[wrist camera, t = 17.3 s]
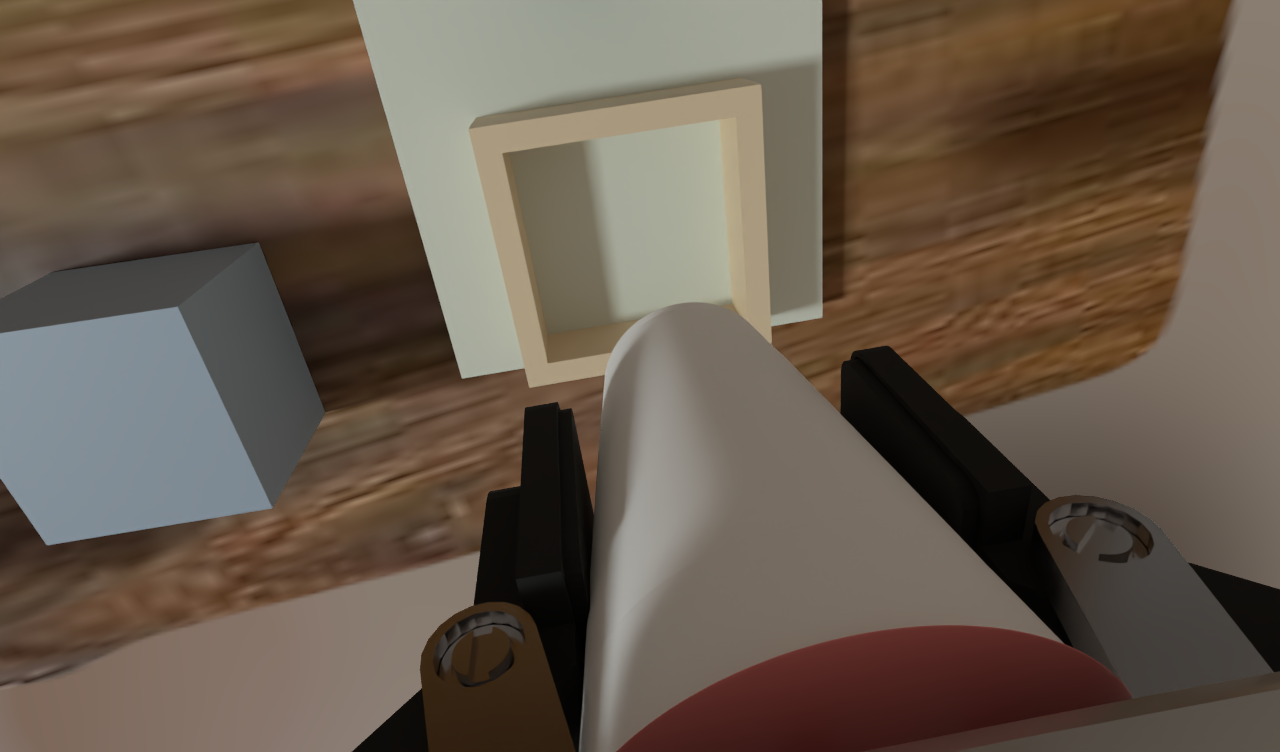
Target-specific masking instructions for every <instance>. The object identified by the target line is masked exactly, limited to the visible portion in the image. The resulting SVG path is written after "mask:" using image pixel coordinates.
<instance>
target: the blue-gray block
mask: <svg viewBox="0 0 1280 752" xmlns="http://www.w3.org/2000/svg"><path fill="white" fill-rule="evenodd" d="M324 414H325V410H324V408H323V405H322V403H321V400H320V398H319V395H318V392H317V390H316V387H315V385H314V382H313V380H312V377H311V375H310V372H309V369H308V367H307V364H306V362H305V359H304V357H303V354H302V352H301V349H300V346H299V344H298V341H297V339H296V336H295V334H294V331H293V329H292V326H291V324H290V321H289V318H288V316H287V313H286V311H285V308H284V306H283V303H282V301H281V298H280V295H279V293H278V290H277V288H276V285H275V283H274V280H273V278H272V275H271V272H270V270H269V267H268V265H267V262H266V260H265V257H264V255H263V252H262V249H261V247H260V244H259V242H258V243H251V244H244V245H237V246H230V247H223V248H216V249H209V250H203V251H196V252H189V253H182V254H175V255H168V256H161V257H154V258H147V259H141V260H134V261H127V262H120V263H113V264H106V265H99V266H92V267H85V268H79V269H72V270H65V271H58V272H51V273H49V274H48V275H46V276H44V277H42V278H40V279H38V280H36V281H34V282H32V283H30V284H28V285H26V286H25V287H23V288H21V289H19V290H17V291H15V292H13V293H11V294H9V295H7V296H5V297H4V298H2V299H0V479H1V480H2V481H3V483H4V484H5V486H6V487H7V489H8V490H9V492H10V493H11V494H12V496H13V497H14V499H15V500H16V502H17V503H18V504H19V506H20V507H21V509H22V510H23V512H24V513H25V515H26V516H27V517H28V519H29V520H30V522H31V523H32V525H33V526H34V528H35V529H36V530H37V532H38V533H39V535H40V536H41V538H42V539H43V541H44V542H45V543H46V545H53V544H59V543H65V542H71V541H77V540H83V539H89V538H95V537H101V536H107V535H113V534H119V533H125V532H131V531H137V530H144V529H150V528H156V527H162V526H168V525H174V524H180V523H186V522H192V521H198V520H204V519H210V518H216V517H222V516H228V515H234V514H240V513H246V512H252V511H259V510H265V509H271V508H273V506H274V505H275V503H276V501H277V499H278V497H279V496H280V494H281V492H282V490H283V488H284V487H285V485H286V483H287V481H288V479H289V478H290V476H291V474H292V472H293V470H294V468H295V467H296V465H297V463H298V461H299V459H300V458H301V456H302V454H303V452H304V450H305V449H306V447H307V445H308V443H309V441H310V440H311V438H312V436H313V434H314V432H315V431H316V429H317V427H318V425H319V423H320V422H321V420H322V418H323V416H324Z"/></svg>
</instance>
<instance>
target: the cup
mask: <svg viewBox="0 0 1280 752" xmlns="http://www.w3.org/2000/svg"><path fill="white" fill-rule="evenodd" d="M1131 697H1133V696H1132V694H1131V693H1130V691H1129V690H1128V689H1127V687H1126V686H1125V685H1124V684H1123V683H1122V681H1121V680H1120V679H1119V678H1118V677H1117V676H1116V675H1115V674H1114V673H1112V672H1111V671H1110V670H1109V669H1108V668H1106V667H1105V666H1104V665H1102V664H1101V663H1100V662H1098V661H1097V660H1095V659H1093V658H1092V657H1090V656H1088V655H1087V654H1085V653H1083V652H1081V651H1079V650H1077V649H1075V648H1072V647H1070V646H1068V645H1065V644H1064V643H1063V642H1062V641H1061V640H1060V639H1059V638H1058V637H1057V636H1056V635H1055V634H1054V633H1053V632H1052V631H1051V630H1050V629H1049V628H1048V627H1047V626H1046V625H1045V624H1044V623H1043V621H1042V620H1041V619H1040V618H1039V617H1038V616H1037V615H1036V614H1035V613H1034V612H1033V611H1032V610H1031V609H1030V608H1029V607H1028V606H1027V605H1026V604H1025V603H1024V602H1023V601H1022V600H1021V599H1020V598H1019V597H1018V596H1017V595H1016V594H1015V593H1014V592H1013V591H1012V590H1011V589H1010V588H1009V587H1008V586H1007V585H1006V584H1005V583H1004V582H1003V581H1002V580H1001V579H1000V578H999V577H998V576H997V575H996V573H995V572H994V571H993V570H992V569H990V568H989V567H988V566H987V565H986V564H985V562H984V561H983V560H982V559H981V558H980V557H979V556H978V555H977V554H976V553H975V552H974V551H973V550H972V549H971V548H970V547H969V546H968V544H967V543H966V542H965V541H964V540H963V539H962V538H961V537H960V536H959V535H958V534H957V533H956V532H955V531H954V530H953V529H952V528H951V527H950V526H949V525H948V524H947V523H946V522H945V521H944V520H943V519H942V518H941V516H940V515H939V514H938V513H937V512H936V511H935V510H934V509H933V508H932V507H931V506H930V505H929V504H928V503H927V502H926V501H925V500H924V499H923V498H922V497H921V496H920V495H919V494H918V493H917V492H916V491H915V490H914V489H913V488H912V487H911V486H910V485H909V484H908V483H907V482H906V481H905V479H904V478H903V477H902V476H901V475H900V474H899V473H898V472H897V471H896V470H895V469H894V468H893V467H892V466H891V465H890V464H889V463H888V462H887V461H886V460H885V459H884V458H883V457H882V456H881V455H880V454H879V453H878V452H877V451H876V450H875V449H874V448H873V447H872V446H871V445H870V444H869V443H868V442H867V441H866V440H865V439H864V438H863V436H862V435H861V434H860V433H859V432H858V431H857V430H856V429H855V428H854V427H853V426H852V425H851V424H850V423H849V422H848V421H847V420H846V419H845V418H844V417H843V416H842V415H841V414H840V413H839V412H838V411H837V410H836V409H835V408H834V407H833V406H832V405H831V404H830V403H829V402H828V401H827V400H826V399H825V398H824V397H823V396H822V395H821V394H820V393H819V392H818V391H817V390H816V388H815V387H814V386H813V385H812V384H811V383H810V382H809V381H808V380H807V379H806V378H805V377H804V376H803V375H802V374H801V373H800V372H799V371H798V370H797V369H796V368H795V367H794V366H793V365H792V364H791V363H790V362H789V361H788V360H787V359H786V358H785V357H784V356H783V355H782V354H781V353H780V352H779V351H778V350H776V349H775V348H774V347H773V346H772V345H771V344H770V343H769V342H768V341H767V340H766V339H765V338H764V337H763V336H762V335H761V334H760V333H759V332H758V331H757V330H756V329H755V328H754V327H753V326H752V325H751V324H750V323H749V322H748V321H747V320H746V319H744V318H743V317H742V316H740V315H739V314H737V313H735V312H733V311H731V310H729V309H727V308H724V307H722V306H718V305H714V304H709V303H701V302H688V303H680V304H674V305H670V306H667V307H664V308H661V309H658V310H656V311H654V312H652V313H650V314H648V315H646V316H645V317H643V318H642V319H640V320H639V321H637V322H636V323H635V324H634V325H632V326H631V327H630V328H629V329H628V330H627V331H626V332H625V333H624V335H623V336H622V337H621V338H620V340H619V341H618V342H617V344H616V345H615V347H614V349H613V351H612V353H611V355H610V358H609V360H608V363H607V367H606V372H605V383H604V393H603V408H602V415H601V424H600V438H599V452H598V467H597V481H596V496H595V510H594V525H593V540H592V554H591V569H590V611H589V615H588V621H587V630H586V646H585V663H584V680H583V701H582V712H581V726H580V740H579V752H864V751H869V750H874V749H879V748H884V747H889V746H894V745H899V744H904V743H909V742H914V741H919V740H924V739H929V738H934V737H939V736H944V735H949V734H954V733H959V732H964V731H969V730H974V729H979V728H984V727H989V726H995V725H1000V724H1005V723H1010V722H1015V721H1020V720H1025V719H1030V718H1035V717H1040V716H1046V715H1051V714H1056V713H1061V712H1066V711H1071V710H1077V709H1082V708H1087V707H1092V706H1097V705H1103V704H1108V703H1113V702H1118V701H1123V700H1129V699H1131Z"/></svg>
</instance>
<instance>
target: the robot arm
mask: <svg viewBox="0 0 1280 752" xmlns="http://www.w3.org/2000/svg"><path fill="white" fill-rule="evenodd" d="M841 415H842V416H843V417H844V418H845V419H846V420H847V421H848V422H849V423H850V424H851V425H852V426H853V427H854V428H855V429H856V430H857V431H858V432H859V433H860V434H861V435H862V436H863V438H864V439H865V440H866V441H867V442H868V443H869V444H870V445H871V446H872V447H873V448H874V449H875V450H876V451H877V452H878V453H879V454H880V455H881V456H882V457H883V458H884V459H885V460H886V461H887V462H888V463H889V464H890V465H891V466H892V467H893V468H894V469H895V470H896V471H897V472H898V473H899V474H900V475H901V476H902V477H903V478H904V479H905V481H906V482H907V483H908V484H909V485H910V486H911V487H912V488H913V489H914V490H915V491H916V492H917V493H918V494H919V495H920V496H921V497H922V498H923V499H924V500H925V501H926V502H927V503H928V504H929V505H930V506H931V507H932V508H933V509H934V510H935V511H936V512H937V513H938V514H939V515H940V516H941V518H942V519H943V520H944V521H945V522H946V523H947V524H948V525H949V526H950V527H951V528H952V529H953V530H954V531H955V532H956V533H957V534H958V535H959V536H960V537H961V538H962V539H963V540H964V541H965V542H966V543H967V544H968V546H969V547H970V548H971V549H972V550H973V551H974V552H975V553H976V554H977V555H978V556H979V557H980V558H981V559H982V560H983V561H984V562H985V564H986V565H987V566H988V567H989V568H990V569H992V570H993V571H994V572H995V573H996V575H997V576H998V577H999V578H1000V579H1001V580H1002V581H1003V582H1004V583H1005V584H1006V585H1007V586H1008V587H1009V588H1010V589H1011V590H1012V591H1013V592H1014V593H1015V594H1016V595H1017V596H1018V597H1019V598H1020V599H1021V600H1022V601H1023V602H1024V603H1025V604H1026V605H1027V606H1028V607H1029V608H1030V609H1031V610H1032V611H1033V612H1034V613H1035V614H1036V615H1037V616H1038V617H1039V618H1040V619H1041V620H1042V621H1043V623H1044V624H1045V625H1046V626H1047V627H1048V628H1049V629H1050V630H1051V631H1052V632H1053V633H1054V634H1055V635H1056V636H1057V637H1058V638H1059V639H1060V640H1061V641H1062V642H1063V643H1064V644H1065V645H1068V646H1070V647H1072V648H1075V649H1077V650H1079V651H1081V652H1083V653H1085V654H1087V655H1088V656H1090V657H1092V658H1093V659H1095V660H1097V661H1098V662H1100V663H1101V664H1102V665H1104V666H1105V667H1106V668H1108V669H1109V670H1110V671H1111V672H1112V673H1114V674H1115V675H1116V676H1117V677H1118V678H1119V679H1120V680H1121V681H1122V683H1123V684H1124V685H1125V686H1126V687H1127V689H1128V690H1129V691H1130V693H1131V694H1132V696H1133V697H1131V699H1129V700H1123V701H1118V702H1113V703H1108V704H1103V705H1097V706H1092V707H1087V708H1082V709H1077V710H1071V711H1066V712H1061V713H1056V714H1051V715H1046V716H1040V717H1035V718H1030V719H1025V720H1020V721H1015V722H1010V723H1005V724H1000V725H995V726H989V727H984V728H979V729H974V730H969V731H964V732H959V733H954V734H949V735H944V736H939V737H934V738H929V739H924V740H919V741H914V742H909V743H904V744H899V745H894V746H889V747H884V748H879V749H874V750H869V751H864V752H1280V589H1277V588H1273V587H1270V586H1266V585H1263V584H1260V583H1256V582H1253V581H1249V580H1246V579H1243V578H1239V577H1236V576H1232V575H1229V574H1225V573H1222V572H1219V571H1215V570H1212V569H1208V568H1205V567H1202V566H1198V565H1195V564H1192V563H1188V562H1187V561H1186V560H1185V558H1184V557H1183V556H1182V555H1181V554H1180V552H1179V551H1178V550H1177V548H1176V547H1175V546H1174V544H1173V543H1172V542H1171V541H1170V539H1169V538H1168V537H1167V536H1166V534H1165V533H1164V532H1163V530H1162V529H1161V528H1159V527H1158V526H1157V525H1156V524H1155V523H1154V522H1153V521H1152V520H1151V519H1150V518H1148V517H1147V516H1145V515H1143V514H1142V513H1140V512H1139V511H1137V510H1135V509H1134V508H1131V507H1129V506H1126V505H1124V504H1121V503H1118V502H1116V501H1113V500H1108V499H1104V498H1100V497H1095V496H1082V495H1072V496H1064V497H1058V498H1055V499H1053V500H1049V499H1048V498H1047V497H1046V496H1045V495H1044V494H1043V493H1042V492H1041V491H1040V490H1039V489H1038V488H1037V487H1036V486H1035V485H1034V484H1033V483H1032V482H1031V481H1030V480H1029V479H1028V478H1027V477H1025V476H1024V475H1023V474H1022V473H1021V472H1020V471H1019V470H1018V469H1017V468H1016V467H1015V466H1014V465H1013V464H1012V463H1011V462H1010V461H1009V460H1008V459H1007V458H1006V457H1005V456H1004V455H1003V454H1002V453H1001V452H1000V451H998V449H997V448H996V447H994V446H993V445H992V444H991V443H990V442H989V441H988V440H987V439H986V438H985V437H984V436H983V435H982V434H981V433H980V432H979V431H978V430H977V429H976V428H975V427H974V426H973V425H972V424H971V423H970V422H968V420H967V419H966V418H965V417H963V416H962V415H961V414H960V413H958V412H957V411H956V410H954V409H953V408H952V407H951V406H950V405H949V404H948V403H947V402H946V401H945V400H944V399H943V398H942V397H941V396H940V395H939V394H938V393H937V392H936V391H935V390H934V389H933V388H932V387H931V386H930V385H929V384H928V383H927V382H926V381H925V380H924V379H923V378H921V377H920V376H919V375H918V374H917V373H916V372H915V371H914V370H913V369H912V368H911V367H910V366H909V365H908V364H907V363H906V362H905V361H904V360H903V359H902V358H901V357H900V356H899V355H898V354H897V353H896V352H895V351H894V350H893V349H892V348H890V347H889V346H881V347H876V348H870V349H864V350H858V351H854V352H853V353H852V356H851V360H849V361H844V362H843V364H842V367H841ZM593 525H594V513H593V508H592V504H591V499H590V494H589V489H588V484H587V479H586V474H585V469H584V465H583V460H582V455H581V450H580V445H579V440H578V435H577V431H576V426H575V421H574V416H573V412H572V409H571V408H570V409H564V410H560V408H559V404H558V402H555V403H549V404H544V405H538V406H532V407H526V408H525V415H524V434H523V452H522V470H521V486H518V487H512V488H507V489H501V490H495V491H490V492H489V493H488V497H487V502H486V510H485V518H484V526H483V534H482V542H481V550H480V559H479V567H478V575H477V583H476V591H475V599H474V606H471V607H469V608H467V609H464V610H462V611H460V612H458V613H456V614H454V615H453V616H452V617H450V618H449V619H448V620H447V621H445V622H444V623H443V624H441V625H440V626H439V627H438V628H437V630H436V631H435V632H434V633H433V634H432V636H431V637H430V638H429V639H428V641H427V644H426V646H425V648H424V650H423V652H422V655H421V665H420V673H421V683H422V689H421V690H420V691H418V692H417V693H416V694H415V695H414V696H413V697H412V698H411V699H410V700H409V701H407V702H406V703H405V704H404V705H403V706H402V707H401V708H400V709H399V710H397V711H396V712H395V713H394V714H393V715H392V716H391V717H390V718H389V719H388V720H386V721H385V722H384V723H383V724H382V725H381V726H380V727H379V728H378V729H376V730H375V731H374V732H373V733H372V734H371V735H370V736H369V737H368V738H367V739H365V741H363V742H362V743H361V744H360V745H359V746H358V747H357V748H356V749H355V750H353V751H352V752H579V740H580V726H581V712H582V701H583V680H584V663H585V646H586V630H587V621H588V615H589V611H590V569H591V554H592V540H593Z"/></svg>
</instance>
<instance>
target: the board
mask: <svg viewBox="0 0 1280 752" xmlns="http://www.w3.org/2000/svg"><path fill="white" fill-rule="evenodd" d="M353 2H354V6H355V9H356V13H357V16H358V20H359V23H360V27H361V30H362V34H363V37H364V40H365V44H366V47H367V51H368V54H369V58H370V61H371V65H372V68H373V72H374V75H375V79H376V82H377V86H378V89H379V93H380V96H381V99H382V103H383V106H384V110H385V113H386V117H387V120H388V124H389V127H390V131H391V134H392V138H393V141H394V145H395V148H396V151H397V155H398V158H399V162H400V165H401V169H402V172H403V176H404V179H405V183H406V186H407V190H408V193H409V197H410V200H411V204H412V207H413V210H414V214H415V217H416V221H417V224H418V228H419V231H420V235H421V238H422V242H423V245H424V249H425V252H426V256H427V259H428V263H429V266H430V269H431V273H432V276H433V280H434V283H435V287H436V290H437V294H438V297H439V301H440V304H441V308H442V311H443V315H444V318H445V322H446V325H447V328H448V332H449V335H450V339H451V342H452V346H453V349H454V353H455V356H456V360H457V363H458V367H459V370H460V374H461V377H462V379H463V378H469V377H475V376H481V375H486V374H492V373H498V372H504V371H510V370H516V369H522V368H525V371H526V376H527V380H528V384H529V388H531V387H537V386H543V385H548V384H554V383H560V382H566V381H572V380H578V379H583V378H589V377H595V376H601V375H605V372H606V367H607V363H608V360H609V358H610V355H611V353H612V351H613V349H614V347H615V345H616V344H617V342H618V341H619V340H620V338H621V337H622V336H623V335H624V333H625V332H626V331H627V330H628V329H629V328H630V327H631V326H632V325H634V324H635V323H636V322H637V321H639V320H640V319H642V318H643V317H645V316H646V315H648V314H650V313H652V312H654V311H656V310H658V309H661V308H664V307H667V306H670V305H674V304H680V303H688V302H701V303H709V304H714V305H718V306H722V307H724V308H727V309H729V310H731V311H733V312H735V313H737V314H739V315H740V316H742V317H743V318H744V319H746V320H747V321H748V322H749V323H750V324H751V325H752V326H753V327H754V328H755V329H756V330H757V331H758V332H759V333H760V334H761V335H762V336H763V337H764V338H765V339H766V340H767V341H768V342H769V343H770V344H771V345H772V337H771V326H775V325H781V324H787V323H793V322H799V321H805V320H811V319H817V318H822V0H353Z"/></svg>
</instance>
